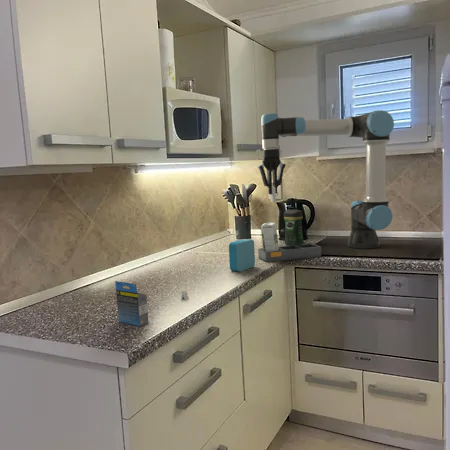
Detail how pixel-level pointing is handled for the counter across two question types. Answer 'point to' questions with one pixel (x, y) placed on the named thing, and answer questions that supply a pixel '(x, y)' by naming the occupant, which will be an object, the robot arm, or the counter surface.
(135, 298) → the label tape cartridge
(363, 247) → the robot arm
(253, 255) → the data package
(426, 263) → the counter surface
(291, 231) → the coffee jar
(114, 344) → the counter surface
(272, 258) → the rack
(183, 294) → the adhesive hook
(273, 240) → the syrup box
